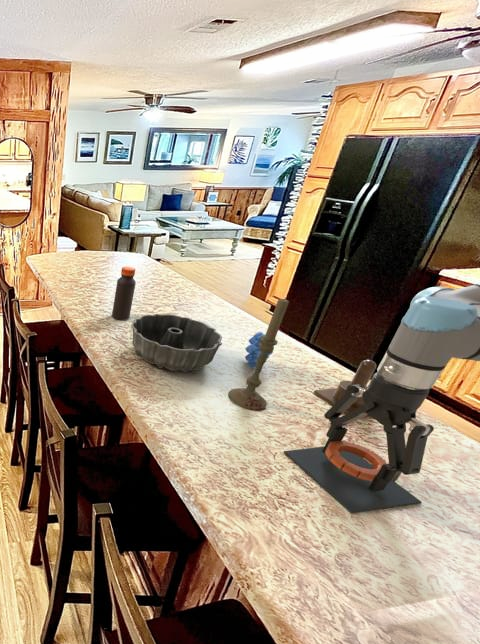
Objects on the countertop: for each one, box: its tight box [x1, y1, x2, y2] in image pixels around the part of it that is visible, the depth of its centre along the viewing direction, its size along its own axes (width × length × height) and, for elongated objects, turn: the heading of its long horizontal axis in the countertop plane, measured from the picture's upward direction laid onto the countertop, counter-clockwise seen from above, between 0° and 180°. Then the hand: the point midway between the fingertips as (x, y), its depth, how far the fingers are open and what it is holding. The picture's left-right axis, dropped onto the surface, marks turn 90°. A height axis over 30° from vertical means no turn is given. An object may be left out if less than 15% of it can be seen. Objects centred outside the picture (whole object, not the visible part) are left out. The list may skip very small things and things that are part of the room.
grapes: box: [244, 331, 274, 369], centre depth 118 cm, size 12×7×12 cm, turn 166°
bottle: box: [111, 266, 136, 321], centre depth 149 cm, size 7×7×20 cm
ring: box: [325, 440, 388, 481], centre depth 79 cm, size 10×10×2 cm
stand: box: [313, 359, 377, 418], centre depth 102 cm, size 11×11×14 cm
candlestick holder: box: [227, 297, 290, 411], centre depth 98 cm, size 9×9×30 cm
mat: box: [283, 446, 422, 514], centre depth 81 cm, size 16×16×1 cm
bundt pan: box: [130, 313, 223, 373], centre depth 123 cm, size 26×26×10 cm
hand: (350, 469), depth 81 cm, fingers closed on ring, 9 cm apart
